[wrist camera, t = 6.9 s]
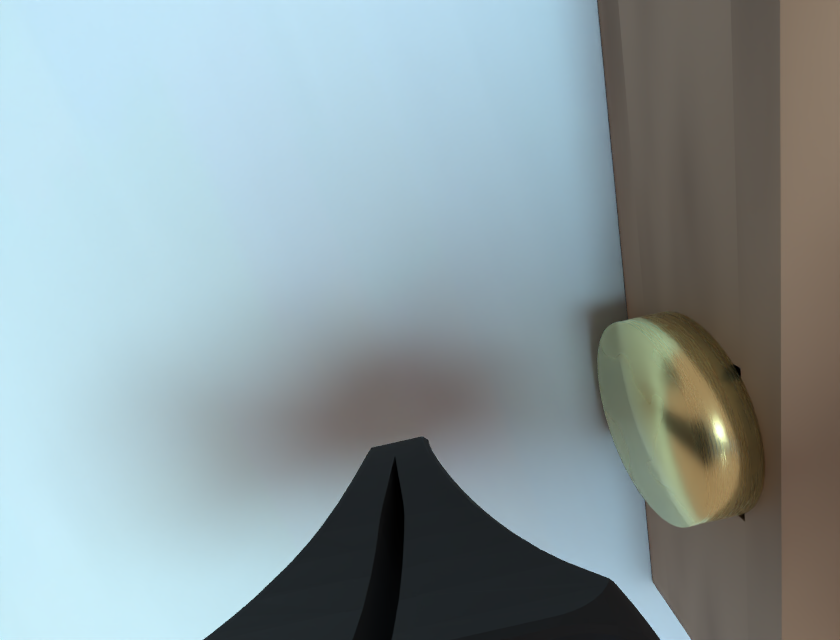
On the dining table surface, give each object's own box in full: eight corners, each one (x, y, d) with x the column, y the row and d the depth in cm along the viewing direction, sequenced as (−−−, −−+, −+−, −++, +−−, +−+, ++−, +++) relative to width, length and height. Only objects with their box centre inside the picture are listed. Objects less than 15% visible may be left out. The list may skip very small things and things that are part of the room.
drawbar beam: (887, -184, 11) (1360, -531, 6) (852, 536, 17) (1077, 705, 11) (586, -119, 11) (778, -408, 6) (652, 582, 17) (781, 774, 11)
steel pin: (916, 228, 13) (1197, 251, 9) (904, 386, 15) (1142, 479, 10) (588, 301, 13) (698, 364, 9) (606, 453, 15) (709, 578, 10)
